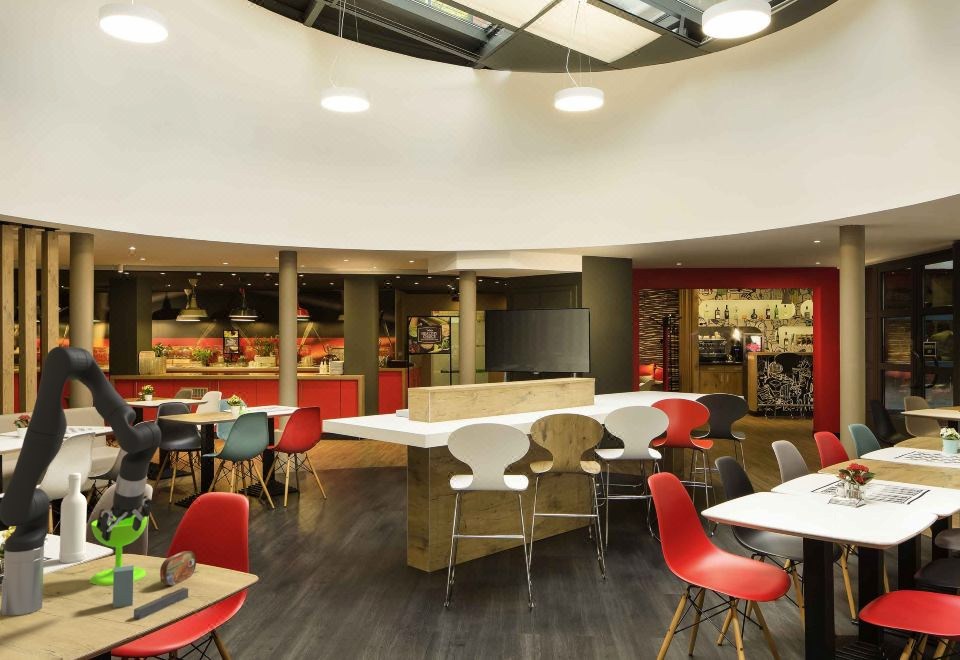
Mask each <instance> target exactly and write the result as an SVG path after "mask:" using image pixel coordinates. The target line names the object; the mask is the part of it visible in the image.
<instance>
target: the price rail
mask: <svg viewBox="0 0 960 660" xmlns="http://www.w3.org/2000/svg"><path fill="white" fill-rule="evenodd" d="M187 598H189V588H187V587H182V588H179V589H177V590H175V591H173V592H169V593H166V594H164V595H162V596H161V597H158V598H156V599H155V600H152V601H150V602H147V603H145V604H143V605H141V606H138V607H136V608H134V609H133V619H134V620H139V619H140V620H141V619H143V618H144V619H145V617H148V616H151V615H152V614H155V613H157V612H159V611H162V610H163V609H166V608H168V607H171V606H172V605H174V604H176V602H177V603H179V602H181V601H183V600H184V599H187Z"/></svg>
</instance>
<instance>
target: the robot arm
mask: <svg viewBox="0 0 960 660" xmlns="http://www.w3.org/2000/svg"><path fill="white" fill-rule="evenodd" d="M68 380H69V381H76V380H77V381H78V382H80V383H81V384H82V385H84V386H85V387H86V388H87V389H88V391H90V394H91V397H92V402H93V406H94V408H95V410H96V412H97V414H99V416H100V417H101V418H102V419H103V420H104V421H105V422H106V423H107V424H108V425H109V426H110V428H111V430H112V433H113V434H114V437H115V439H116V441H117V443H118V445H119V447H120V449H121V450H122V451H123V452H125V453H126V454H125V455H123V456H122V459H121V461H120V467H119V471H118V475H117V477H116V482H115V488H114V492H113V495H112V496H113V497H112V506H111V508H110V509H104V508H102V509H100V510H99V514H98V518H97V520H98V521H97V525H96V527H97V528H98V529H99V530H100V531H101V532H102V538H103V539H104V540H105V541H106V542H107V541H109V540H110V536H111V529H112V528H113V527H114V526H115V525H117V524H118V523H119V522H120V521H122V520H124V519H126V518H131V517H132V516H133V515H135V516H136V517H134V521H133V526H132V528H133V529H134V530H135V531H138V530H139V528H140V527H141V523H142V520H143V519H144V517H147V518H148V517H149V516H150V515H151V509H152V502H153V500H152V499H151V498H150V497H149V496H148V495H145V491H146V486H147V481H148V478H147V476H148V473H149V466H150V463H151V461H152V460H153V458H154V456H155V454H156V453H157V450H158V449H159V446H160V444H161V441H162V431H161V428H160V427H159V425H158V424H157V423H155V422H152V421H145V422H143V423H139V424H136V425H134V426H131V425H133V423H134V422H135V420H136V418H137V414H136V411H135V410H134V409H133V407H132V406H131V405H130V403H128V402H127V401H126V400H125V399H124V398H123V397H122V396H121V395H120V394H119V393H118V392H117V391H116V389H115V387H114V386H113V385H112V383H111V382H110V380H109V379H108V378H107V376H106V375H105V373H104V371H103V370H102V368H101V367H100V365H99V364H98V362H97V361H96V359H95V357H94V356H93V355H92V353H91V352H90V351H89V350H87V349H86V348H83V347H82V348H81V347H74V346H56V347H53V348H52V349H50V351H49V352H48V353H47V355H46V357H45V359H44V362H43V366H42V370H41V375H40V381H39V387H38V391H37V396H36V399H35V403H34V406H33V410H32V413H31V417H30V420H29V421H28V425H27V429H26V431H25V435H24V438H23V442H22V445H21V449H20V452H19V455H18V458H17V461H16V464H15V466H14V469H13V472H12V476H11V478H10V480H9V482H8V485H7V486H6V488H5V491H4V493H3V496H2V498H1V500H0V521H1V522H2V524H4V525H5V526H7V527H11V528H13V527H15V528H14V530H13V532H12V533H11V534H9V536H8V537H7V538H6V539H5V542H4V555H3V559H4V560H3V563H4V564H3V579H2V581H1V598H0V599H1V601H0V604H1V605H0V616H22V615H27V614H31V613H33V612H37V611H39V610H40V609H42V607H43V599H44V597H43V596H44V593H43V592H44V567H45V565H44V563H45V561H44V560H45V556H44V555H45V539H46V537H47V535H48V531H49V523H50V511H51V510H50V508H51V507H50V499H49V496H48V494H47V493H46V492H45V490H43V489H41V488H39V487H38V488H37V486H38V483H39V482H40V479H41V477H42V475H43V474H44V473H45V471H46V470H47V469H48V467H49V466H50V465H51V463H52V462H53V461H54V460H55V458H56V457H57V455H58V454H59V451H60V449H61V447H62V445H63V442H64V438H65V436H66V433H67V427H68V423H67V418H66V417H67V416H66V414H65V410H64V407H63V401H62V400H63V392H64V389H65V386H66V383H67V381H68ZM144 495H145V496H144ZM139 509H141V511H140V512H139V511H138V510H139ZM114 516H115V517H116V518H117V519H116V520H114V519H113V517H114ZM110 522H111V524H110V525H109V523H110Z"/></svg>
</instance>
